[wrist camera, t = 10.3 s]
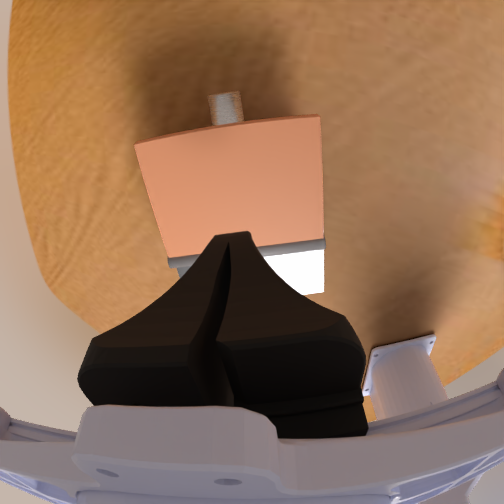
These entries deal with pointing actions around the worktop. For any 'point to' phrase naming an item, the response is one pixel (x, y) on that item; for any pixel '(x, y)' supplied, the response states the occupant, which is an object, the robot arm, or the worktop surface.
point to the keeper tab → (237, 185)
